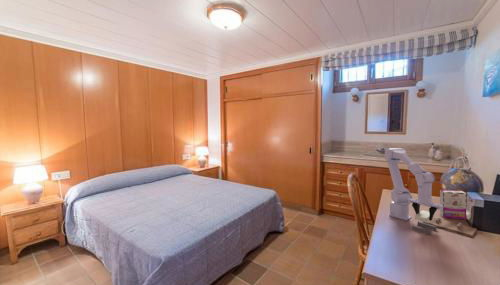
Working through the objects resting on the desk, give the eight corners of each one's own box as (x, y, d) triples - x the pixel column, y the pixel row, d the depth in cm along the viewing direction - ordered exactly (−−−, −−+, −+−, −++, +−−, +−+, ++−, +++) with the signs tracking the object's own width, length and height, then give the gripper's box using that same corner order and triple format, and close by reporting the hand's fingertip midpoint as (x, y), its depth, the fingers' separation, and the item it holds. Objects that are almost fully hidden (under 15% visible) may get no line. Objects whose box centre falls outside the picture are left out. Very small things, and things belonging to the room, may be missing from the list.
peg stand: (422, 223, 121) (423, 218, 121) (429, 218, 127) (429, 213, 127) (472, 237, 105) (472, 231, 105) (476, 230, 111) (476, 225, 111)
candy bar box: (462, 216, 128) (462, 190, 127) (466, 220, 123) (467, 193, 122) (439, 214, 132) (439, 189, 131) (443, 217, 128) (443, 191, 127)
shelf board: (426, 222, 108) (426, 218, 108) (414, 219, 113) (414, 215, 112) (433, 216, 115) (433, 212, 115) (422, 213, 119) (422, 210, 119)
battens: (412, 229, 115) (412, 226, 115) (418, 224, 120) (418, 221, 120) (430, 235, 108) (430, 231, 108) (436, 229, 114) (436, 226, 113)
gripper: (406, 192, 117) (405, 215, 118) (439, 199, 105) (439, 225, 106) (410, 190, 121) (410, 212, 122) (444, 196, 109) (443, 221, 110)
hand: (424, 218), depth 114 cm, fingers closed on shelf board, 5 cm apart
